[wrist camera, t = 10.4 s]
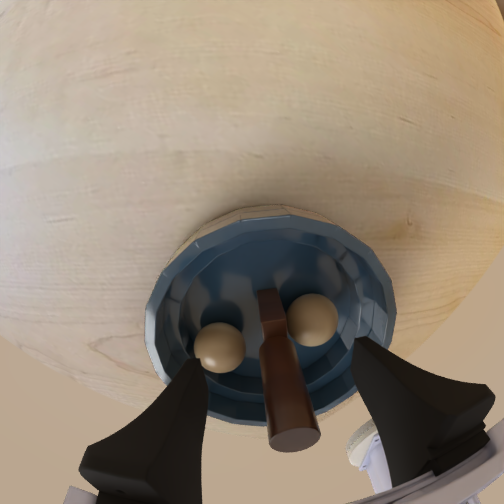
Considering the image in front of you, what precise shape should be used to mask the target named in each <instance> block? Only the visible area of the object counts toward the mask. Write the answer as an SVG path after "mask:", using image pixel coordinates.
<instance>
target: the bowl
mask: <svg viewBox="0 0 504 504" xmlns="http://www.w3.org/2000/svg"><path fill="white" fill-rule="evenodd" d="M272 288H277V290H278V293H279V296H280V299H281V302H282V306H283V309H284V312H285V315H286V312H287V310H288V308H289V306H290V305H291V304H292V302H293V301H294V300H296V299H297V298H298V297H300V296H302V295H305V294H310V293H314V294H320V295H323V296H325V297H327V298H328V299H329V300H330V301H332V303H333V304H334V305H335V307H336V309H337V312H338V318H339V320H338V327H337V329H336V332H335V333H334V335H333V336H332V337H331V338H330V339H329V340H328V341H327V342H325V343H324V344H322V345H318V346H312V347H310V346H304V345H301V344H299V343H297V342H296V341H294V340H293V339H292V338H291V336H290V335H289V333H288V339H290V340H291V341H292V342H293V343H294V345H295V348H296V352H297V355H298V358H299V362H300V365H301V368H302V372H303V375H304V378H305V382H306V385H307V388H308V392H309V395H310V398H311V402H312V405H313V409H314V412H315V415H316V416H317V415H319V414H322V413H325V412H327V411H329V410H330V409H332V408H333V407H335V406H337V405H338V404H340V403H341V402H343V401H344V400H346V399H347V398H349V397H350V396H352V395H353V394H354V393H356V392H357V391H358V389H357V387H356V385H355V382H354V379H353V377H352V374H351V371H350V368H351V361H352V354H353V346H354V338H358V337H363V336H367V337H369V338H370V339H372V340H373V341H375V342H376V343H378V344H379V345H381V346H382V347H384V348H385V349H387V350H388V348H389V346H390V344H391V341H392V336H393V331H394V326H395V320H396V314H397V312H396V311H397V309H396V303H395V298H394V292H393V287H392V281H391V279H390V277H389V275H388V273H387V272H386V270H385V269H384V267H383V265H382V264H381V262H380V261H379V259H378V258H377V256H376V255H375V253H374V252H373V250H372V249H371V248H370V247H369V246H367V245H366V244H364V243H363V242H362V241H360V240H359V239H357V238H356V237H354V236H353V235H351V234H350V233H348V232H347V231H346V230H344V229H343V228H341V227H340V226H338V225H336V224H335V223H333V222H331V221H330V220H328V219H326V218H325V217H323V216H321V215H319V214H317V213H315V212H311V211H307V210H303V209H298V208H294V207H290V206H286V205H281V204H280V205H278V204H277V205H267V206H257V207H247V208H241V209H237V210H235V211H233V212H231V213H228V214H226V215H224V216H222V217H219V218H217V219H215V220H213V221H211V222H209V223H206V224H205V225H203V226H202V227H201V228H200V229H199V230H198V231H197V232H196V233H195V234H193V235H192V236H191V237H190V238H189V239H188V240H187V241H186V242H185V243H184V244H183V245H182V246H181V247H180V248H179V249H178V250H177V251H176V253H175V254H174V256H173V257H172V258H171V260H170V261H169V262H168V264H167V265H166V267H165V268H164V269H163V271H162V272H161V274H160V276H159V278H158V281H157V283H156V285H155V287H154V289H153V292H152V294H151V296H150V298H149V301H148V303H147V305H146V308H145V345H146V348H147V350H148V353H149V356H150V359H151V361H152V364H153V366H154V369H155V371H156V373H157V375H158V376H159V377H160V378H161V379H162V381H163V382H164V383H165V384H166V385H168V384H169V383H170V382H171V380H172V379H173V378H174V376H175V375H176V373H177V372H178V371H179V369H180V368H181V366H182V365H183V363H184V362H185V361H186V360H187V359H193V358H196V356H195V353H194V342H195V338H196V336H197V334H198V333H199V331H200V330H201V329H202V328H204V327H205V326H207V325H209V324H211V323H216V322H223V323H227V324H230V325H232V326H234V327H235V328H237V329H238V330H239V331H240V332H241V334H242V335H243V337H244V340H245V343H246V353H245V357H244V359H243V361H242V362H241V364H240V365H239V366H238V367H237V368H235V369H234V370H232V371H229V372H226V373H215V372H211V371H209V370H207V369H205V368H204V367H203V366H202V368H203V371H204V375H205V378H206V382H207V385H208V411H207V415H208V416H210V417H213V418H216V419H219V420H222V421H225V422H229V423H232V424H239V425H250V426H263V427H264V426H267V421H266V412H265V403H264V395H263V386H262V377H261V368H260V359H259V348H260V346H261V345H262V343H263V337H262V329H261V322H260V314H259V307H258V299H257V291H258V290H265V289H272Z"/></svg>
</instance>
